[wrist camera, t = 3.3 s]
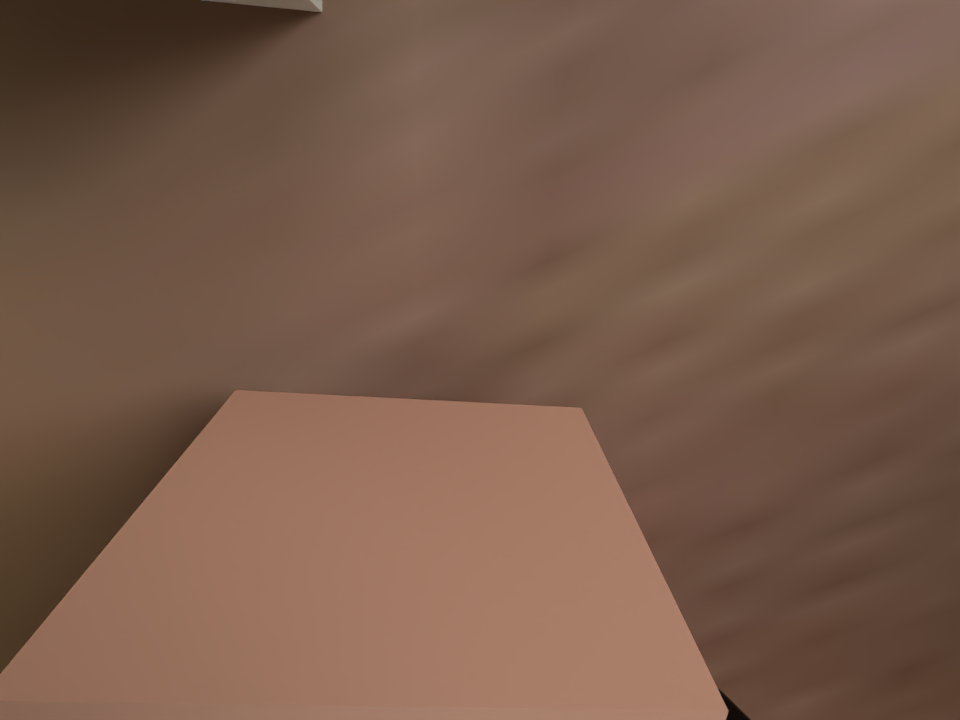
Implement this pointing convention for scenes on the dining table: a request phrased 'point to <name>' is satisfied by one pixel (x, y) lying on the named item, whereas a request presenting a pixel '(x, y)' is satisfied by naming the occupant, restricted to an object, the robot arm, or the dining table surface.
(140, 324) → the dining table surface
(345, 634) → the terracotta block
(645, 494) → the dining table surface
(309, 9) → the offwhite block
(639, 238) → the dining table surface
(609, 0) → the dining table surface
